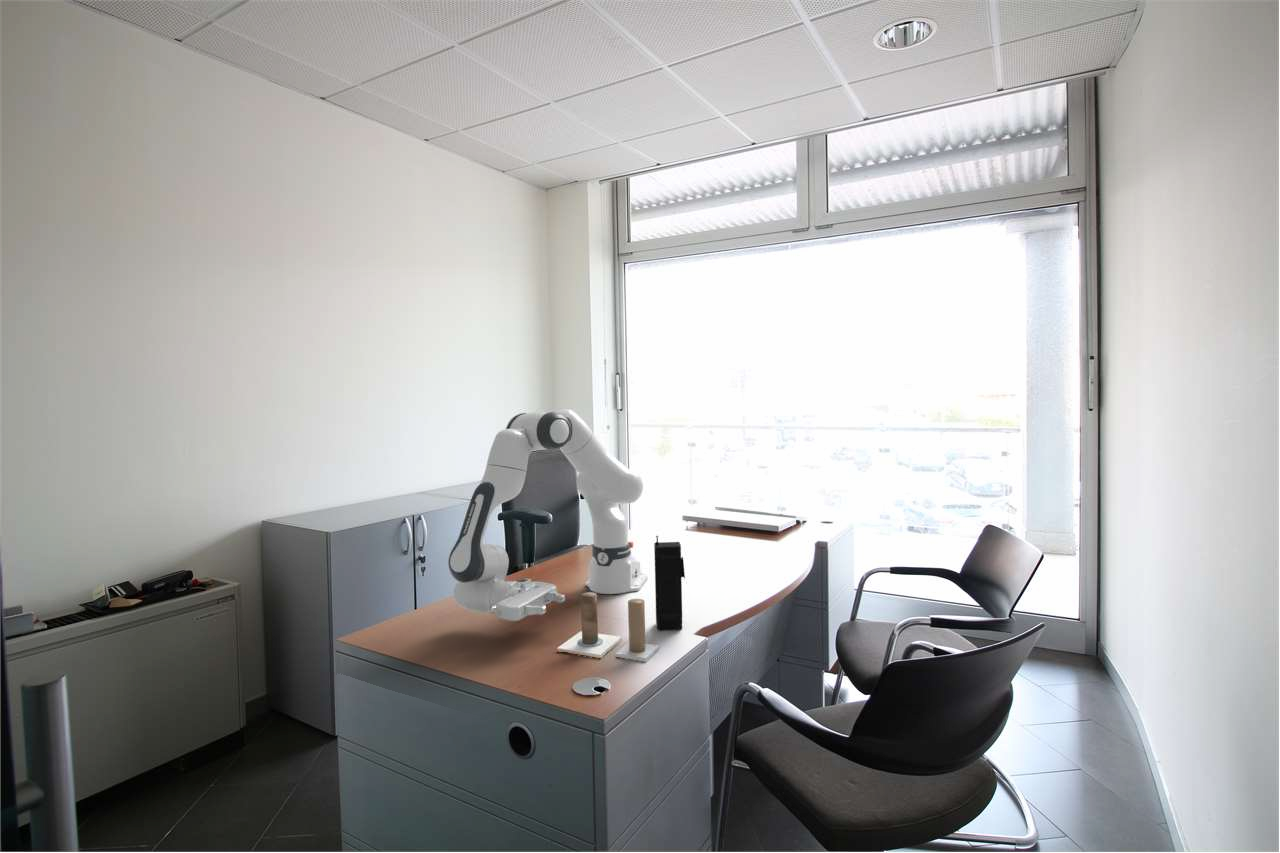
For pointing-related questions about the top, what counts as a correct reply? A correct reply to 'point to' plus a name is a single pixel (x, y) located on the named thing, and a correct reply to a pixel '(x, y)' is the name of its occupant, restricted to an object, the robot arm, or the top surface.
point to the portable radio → (668, 585)
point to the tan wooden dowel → (637, 634)
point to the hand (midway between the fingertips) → (554, 604)
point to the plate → (595, 650)
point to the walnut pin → (589, 618)
